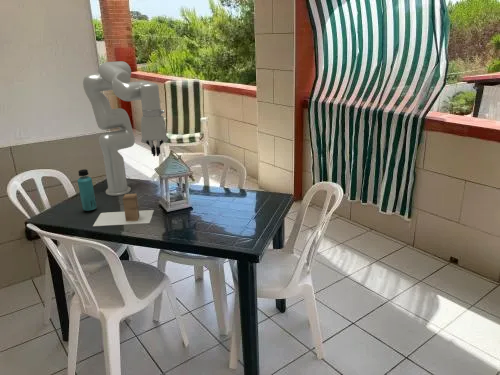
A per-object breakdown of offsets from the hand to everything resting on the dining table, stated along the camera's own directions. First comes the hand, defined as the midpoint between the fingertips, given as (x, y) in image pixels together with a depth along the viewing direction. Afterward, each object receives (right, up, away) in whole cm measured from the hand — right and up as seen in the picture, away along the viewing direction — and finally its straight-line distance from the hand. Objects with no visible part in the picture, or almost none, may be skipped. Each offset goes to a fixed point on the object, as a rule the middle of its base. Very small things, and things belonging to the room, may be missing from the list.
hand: (156, 155), depth 176 cm
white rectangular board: (-15, -28, +4) cm, 32 cm away
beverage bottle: (-34, -25, +13) cm, 44 cm away
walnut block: (-11, -28, +2) cm, 30 cm away
